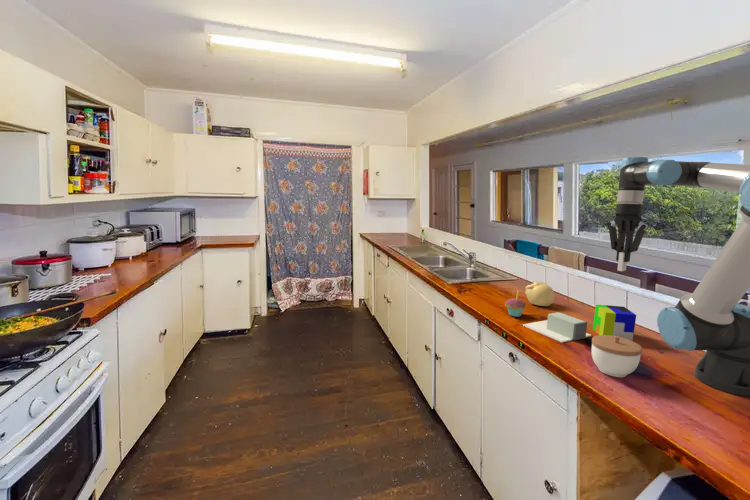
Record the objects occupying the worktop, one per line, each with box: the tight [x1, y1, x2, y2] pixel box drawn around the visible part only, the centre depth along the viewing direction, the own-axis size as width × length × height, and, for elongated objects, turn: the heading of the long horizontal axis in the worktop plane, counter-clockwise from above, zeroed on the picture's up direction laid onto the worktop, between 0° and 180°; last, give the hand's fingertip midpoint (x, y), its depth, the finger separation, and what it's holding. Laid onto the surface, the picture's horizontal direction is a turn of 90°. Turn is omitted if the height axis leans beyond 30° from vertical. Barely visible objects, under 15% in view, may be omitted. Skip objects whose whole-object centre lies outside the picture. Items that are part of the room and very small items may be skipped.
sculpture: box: [525, 281, 555, 307], centre depth 178 cm, size 12×12×11 cm
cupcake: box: [504, 289, 527, 318], centre depth 162 cm, size 9×8×12 cm
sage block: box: [546, 311, 588, 341], centre depth 141 cm, size 6×6×12 cm
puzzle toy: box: [592, 303, 637, 342], centre depth 142 cm, size 10×10×10 cm
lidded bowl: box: [590, 334, 643, 378], centre depth 113 cm, size 13×13×11 cm
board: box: [522, 319, 592, 343], centre depth 146 cm, size 18×16×1 cm
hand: (621, 270), depth 133 cm, fingers closed
